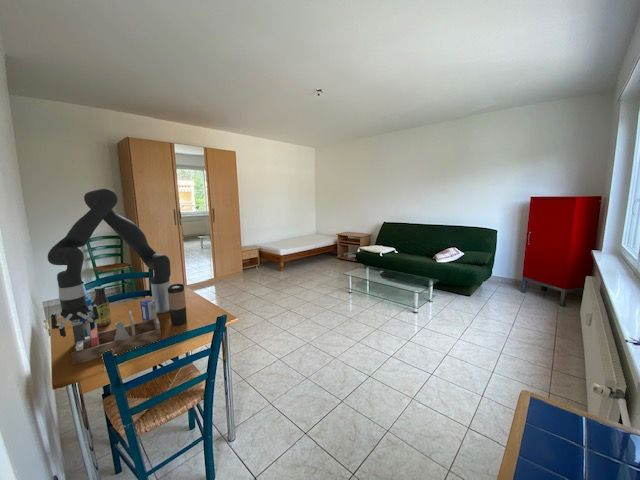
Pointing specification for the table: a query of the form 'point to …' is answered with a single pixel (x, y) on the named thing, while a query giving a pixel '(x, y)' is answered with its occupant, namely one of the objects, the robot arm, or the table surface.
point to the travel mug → (177, 304)
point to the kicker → (81, 338)
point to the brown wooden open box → (122, 343)
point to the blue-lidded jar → (85, 322)
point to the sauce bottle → (102, 307)
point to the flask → (120, 331)
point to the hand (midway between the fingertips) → (78, 332)
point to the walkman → (147, 309)
